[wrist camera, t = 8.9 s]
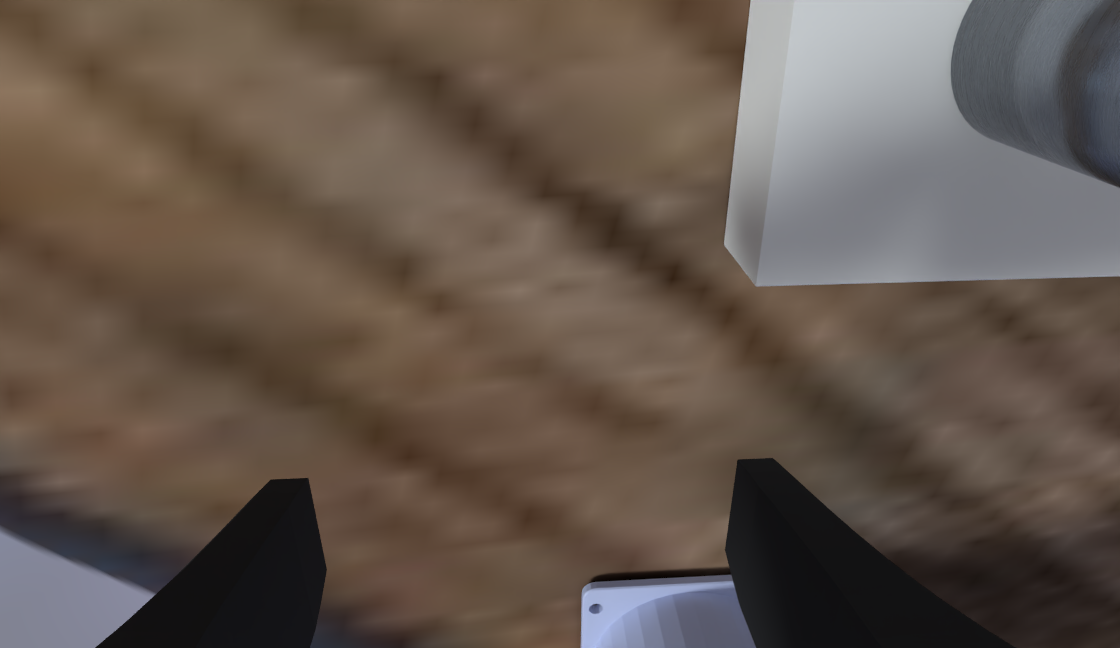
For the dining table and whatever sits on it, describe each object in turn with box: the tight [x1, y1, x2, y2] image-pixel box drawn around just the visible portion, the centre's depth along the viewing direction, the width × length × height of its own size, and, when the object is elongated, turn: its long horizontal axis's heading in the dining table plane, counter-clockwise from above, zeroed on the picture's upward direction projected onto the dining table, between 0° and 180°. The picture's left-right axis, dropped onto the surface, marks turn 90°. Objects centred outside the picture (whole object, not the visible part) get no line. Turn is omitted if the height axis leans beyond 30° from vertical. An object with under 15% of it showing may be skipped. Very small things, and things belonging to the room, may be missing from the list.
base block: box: [724, 0, 1120, 286], centre depth 17 cm, size 12×12×3 cm
